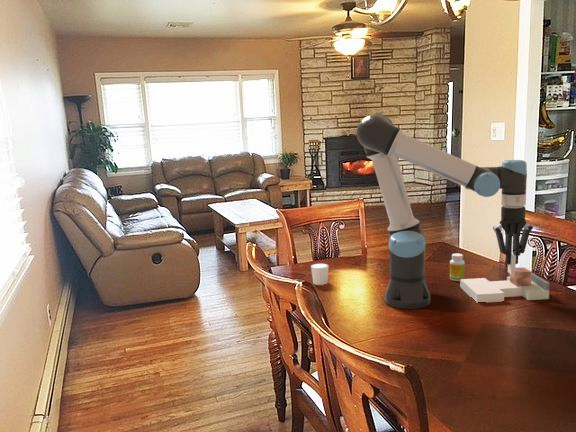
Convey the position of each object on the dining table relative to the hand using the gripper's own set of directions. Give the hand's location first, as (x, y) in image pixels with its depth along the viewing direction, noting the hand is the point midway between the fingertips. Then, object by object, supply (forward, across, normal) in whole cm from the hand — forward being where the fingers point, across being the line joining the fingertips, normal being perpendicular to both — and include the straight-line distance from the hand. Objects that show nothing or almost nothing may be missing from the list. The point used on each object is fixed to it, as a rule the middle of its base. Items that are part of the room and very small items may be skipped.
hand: (511, 273), depth 173 cm
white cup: (+7, -65, +22) cm, 69 cm away
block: (+4, +3, 0) cm, 5 cm away
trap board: (+7, -3, 0) cm, 8 cm away
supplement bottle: (+7, -13, +17) cm, 23 cm away
